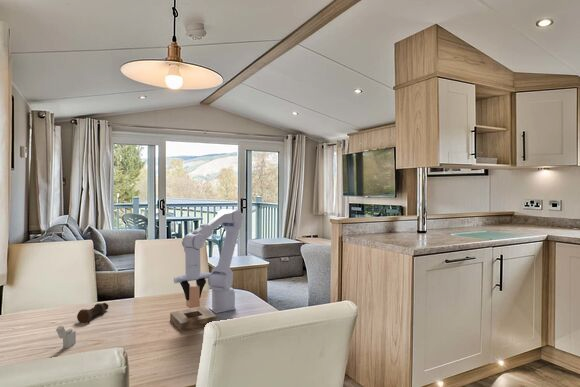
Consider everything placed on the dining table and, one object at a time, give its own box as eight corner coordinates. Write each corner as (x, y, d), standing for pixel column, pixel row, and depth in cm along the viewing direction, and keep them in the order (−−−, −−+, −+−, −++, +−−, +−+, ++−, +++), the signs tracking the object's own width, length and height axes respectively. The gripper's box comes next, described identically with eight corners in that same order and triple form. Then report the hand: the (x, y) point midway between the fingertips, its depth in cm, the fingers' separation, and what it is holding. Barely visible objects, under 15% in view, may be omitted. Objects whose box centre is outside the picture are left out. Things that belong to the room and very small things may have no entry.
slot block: (203, 313, 156) (203, 306, 156) (216, 323, 145) (216, 316, 144) (170, 320, 148) (170, 312, 148) (181, 331, 137) (181, 323, 137)
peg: (196, 303, 149) (195, 284, 149) (199, 306, 146) (199, 286, 146) (186, 305, 147) (186, 285, 147) (189, 308, 144) (189, 287, 144)
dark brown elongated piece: (107, 314, 160) (84, 326, 145) (97, 308, 161) (74, 319, 146) (113, 303, 160) (91, 314, 145) (104, 297, 160) (81, 307, 145)
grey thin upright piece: (71, 342, 127) (71, 319, 127) (76, 342, 127) (75, 319, 127) (56, 351, 120) (55, 327, 120) (60, 352, 120) (60, 327, 120)
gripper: (206, 260, 153) (206, 293, 154) (171, 264, 145) (171, 299, 146) (213, 263, 148) (213, 297, 148) (176, 268, 139) (177, 303, 140)
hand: (193, 298), depth 146 cm, fingers closed on peg, 4 cm apart
